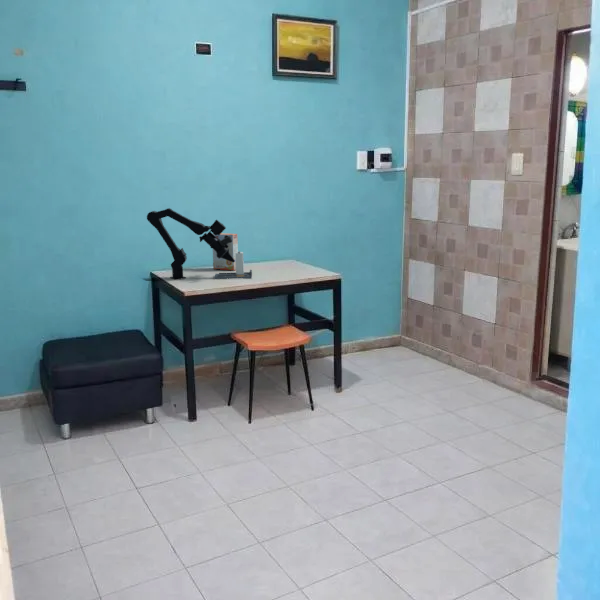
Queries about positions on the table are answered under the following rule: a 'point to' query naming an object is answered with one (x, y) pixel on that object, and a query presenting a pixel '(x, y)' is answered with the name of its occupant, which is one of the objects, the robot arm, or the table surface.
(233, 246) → the cracker box
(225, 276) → the fader track base
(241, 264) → the fader cap
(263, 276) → the table surface
